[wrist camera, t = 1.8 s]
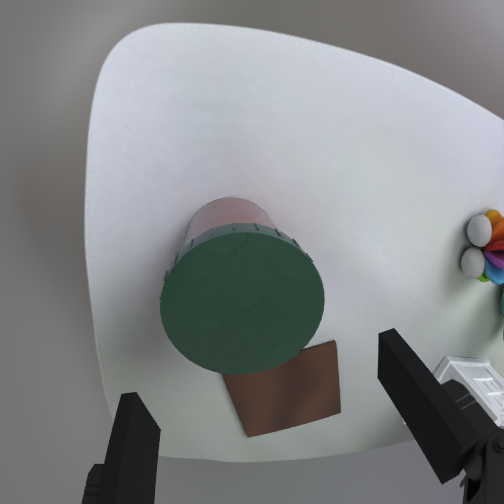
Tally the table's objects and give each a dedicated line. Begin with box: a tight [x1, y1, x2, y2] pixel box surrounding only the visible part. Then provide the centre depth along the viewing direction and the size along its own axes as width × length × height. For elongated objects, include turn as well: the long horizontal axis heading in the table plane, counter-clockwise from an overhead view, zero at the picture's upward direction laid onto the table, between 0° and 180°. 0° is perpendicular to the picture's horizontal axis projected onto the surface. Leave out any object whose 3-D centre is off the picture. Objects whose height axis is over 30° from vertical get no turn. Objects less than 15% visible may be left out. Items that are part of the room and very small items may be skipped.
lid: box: [160, 222, 325, 375], centre depth 20 cm, size 10×10×2 cm
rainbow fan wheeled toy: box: [461, 210, 504, 285], centre depth 32 cm, size 8×10×7 cm
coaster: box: [222, 340, 341, 438], centre depth 39 cm, size 14×14×1 cm
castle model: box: [401, 356, 504, 427], centre depth 38 cm, size 14×14×15 cm
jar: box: [182, 198, 279, 248], centre depth 25 cm, size 9×9×13 cm
